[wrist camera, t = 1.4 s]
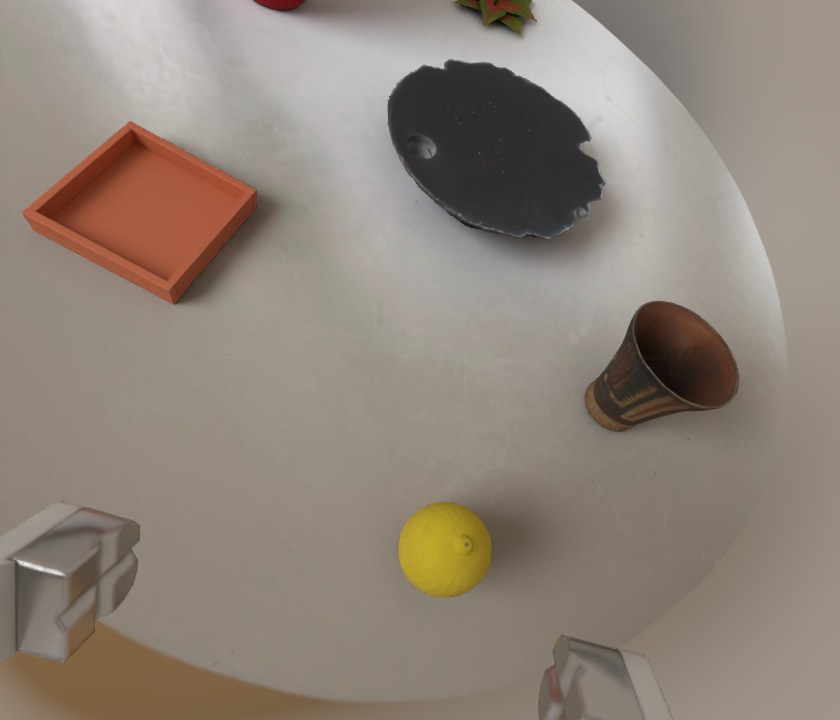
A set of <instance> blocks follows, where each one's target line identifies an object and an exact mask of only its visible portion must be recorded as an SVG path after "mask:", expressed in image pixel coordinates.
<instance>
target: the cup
mask: <svg viewBox="0 0 840 720" xmlns="http://www.w3.org/2000/svg"><path fill="white" fill-rule="evenodd" d="M738 385H739V373H738V368H737V365H736V362H735V360H734V358H733V355H732V353H731V351H730V349H729V347H728V346H727V344H726V343H725V341H724V340H723V339H722V337H721V336H720V335H719V334H718V333H717V332H716V330H714V328H713V327H712V326H710V324H708V323H707V322H706V321H705V320H704V319H703V318H701V317H700V316H699V315H697V314H696V313H694V312H693V311H691V310H689V309H687V308H685V307H683V306H680V305H677V304H674V303H671V302H664V301H653V302H649V303H646V304H644V305H642V306H641V307H640V308H639V309H638V310H637V311H636V313H635V314H634V316H633V318H632V320H631V322H630V325H629V327H628V330H627V333H626V336H625V338H624V340H623V343H622V344H621V346H620V348H619V350H618V351H617V353H616V354H615V356H614V357H613V359H612V360H611V362H610V363H609V364H608V366H607V367H606V369H605V370H604V371H603V373H602V374H601V375H600V376H599V378H598V379H596V380H595V381H594V382H593V383H591V384H590V385H589V387H588V388H587V391H586V394H585V401H586V407H587V409H588V411H589V413H590V414H591V416H592V417H593V419H594V420H595V421H596V422H597V423H599V424H600V425H602V426H603V427H605V428H607V429H609V430H612V431H625V430H627V429H629V428H631V427H633V426H635V425H637V424H639V423H642V422H645V421H648V420H651V419H654V418H658V417H661V416H665V415H669V414H674V413H678V412H685V411H705V410H712V409H717V408H721V407H723V406H725V405H726V404H728V403H729V402H730V401H731V400H732V399H733V398H734V396H735V395H736V393H737V390H738Z"/></svg>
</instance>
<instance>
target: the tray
mask: <svg viewBox="0 0 840 720" xmlns="http://www.w3.org/2000/svg"><path fill="white" fill-rule="evenodd" d="M256 207H257V194H256V190H255V189H253V188H251V187H249V186H248V185H246V184H244V183H242V182H240V181H238V180H237V179H235V178H233V177H231V176H229V175H227V174H226V173H224V172H222V171H220V170H218V169H217V168H215V167H213V166H211V165H209V164H207V163H206V162H204V161H202V160H200V159H198V158H197V157H195V156H193V155H191V154H189V153H187V152H186V151H184V150H182V149H180V148H178V147H176V146H175V145H173V144H171V143H169V142H167V141H166V140H164V139H162V138H160V137H158V136H156V135H155V134H153V133H151V132H149V131H147V130H146V129H144V128H142V127H140V126H138V125H136V124H135V123H133V122H131V121H129V122H128V123H127V124H126V126H124V127H122V128H121V129H120V130H119V131H118V132H116V133H115V134H114V135H113V136H112V137H111V138H109V139H108V140H107V141H106V142H105V143H103V144H102V145H101V146H100V147H99V148H98V149H96V150H95V151H94V152H93V153H92V154H90V155H89V156H88V157H87V158H86V159H84V160H83V161H82V162H81V163H80V164H79V165H77V166H76V167H75V168H74V169H73V170H71V171H70V172H69V173H68V174H67V175H66V176H64V177H63V178H62V179H61V180H60V181H58V182H57V183H56V184H55V185H54V186H52V187H51V188H50V189H49V190H48V191H47V192H45V193H44V194H43V195H42V196H41V197H39V198H38V199H37V200H36V201H35V202H34V203H32V204H31V205H30V206H29V208H26V209H25V210H24V211H23V212H22V214H23V215H24V217H25V218H26V220H27V221H28V223H29V224H30V226H31V227H32V229H33V230H34V231H36V232H38V233H40V234H42V235H43V236H45V237H47V238H49V239H51V240H53V241H55V242H57V243H59V244H61V245H62V246H64V247H66V248H68V249H70V250H72V251H74V252H76V253H78V254H79V255H81V256H83V257H85V258H87V259H89V260H91V261H93V262H95V263H97V264H98V265H100V266H102V267H104V268H106V269H108V270H110V271H112V272H114V273H115V274H117V275H119V276H121V277H123V278H125V279H127V280H129V281H131V282H133V283H134V284H136V285H138V286H140V287H142V288H144V289H146V290H148V291H150V292H151V293H153V294H155V295H157V296H159V297H161V298H163V299H165V300H167V301H169V302H170V303H172V304H175V302H176V301H177V300H178V299H179V298H180V297H181V295H182V294H183V293H184V292H185V291H186V289H187V288H188V287H189V286H190V285H191V284H192V282H193V281H194V280H195V279H196V278H197V277H198V275H199V274H200V273H201V272H202V271H203V269H204V268H205V267H206V266H207V265H208V264H209V262H210V261H211V260H212V259H213V258H214V256H215V255H216V254H217V253H218V252H219V251H220V249H221V248H222V247H223V246H224V245H225V244H226V242H227V241H228V240H229V239H230V238H231V236H232V235H233V234H234V233H235V232H236V231H237V229H238V228H239V227H240V226H241V225H242V224H243V222H244V221H245V220H246V219H247V218H248V216H249V215H250V214H251V213H252V212H253V211H254V209H255V208H256Z"/></svg>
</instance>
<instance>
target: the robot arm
mask: <svg viewBox="0 0 840 720" xmlns="http://www.w3.org/2000/svg"><path fill="white" fill-rule="evenodd" d="M139 541H140V525H139V524H138V523H136V522H135V521H133V520H129V519H126V518H122V517H119V516H115V515H112V514H109V513H105V512H102V511H98V510H95V509H92V508H88V507H87V508H86V507H83V506H79V505H76V504H73V503H69V502H66V501H59V502H54V503H52V504H51V505H49V506H47V507H46V508H44V509H43V510H41V511H40V512H38V513H37V514H35V515H33V516H32V517H30V518H29V519H27V520H26V521H24V522H23V523H21V524H19V525H18V526H16V527H15V528H13V529H12V530H10V531H9V532H7V533H5V534H4V535H2V536H1V537H0V662H1V661H3V660H5V659H7V658H8V657H10V656H12V655H14V654H15V653H16V651H19V652H23V653H27V654H31V655H35V656H39V657H43V658H48V659H52V660H56V661H60V662H64V663H65V662H66V661H67V660H68V659H69V658H70V657H71V656H72V655H73V654H74V653H75V652H76V650H77V649H78V648H79V647H80V646H81V645H82V644H83V643H84V642H85V641H86V640H87V639H88V638H89V637H90V636H91V635H92V634H93V633H94V631H95V620H96V619H98V618H100V617H103V616H105V615H108V614H110V613H112V612H113V611H114V610H115V609H116V608H117V607H118V606H119V605H120V604H121V603H122V602H123V600H124V599H125V597H126V596H127V594H128V592H129V590H130V589H131V587H132V585H133V583H134V580H135V577H136V573H137V567H138V559H137V557H136V556H135V554H134V552H133V550H132V549H131V548H132V547H133V546H134V545H135V544H136V543H137V542H139ZM553 655H554V661H555V664H554V665H553V666H551V667H550V668H548V669H546V670H545V673H544V676H543V679H542V683H541V687H540V694H539V702H538V703H539V705H538V706H539V720H673V717H672V715H671V712H670V710H669V707H668V705H667V703H666V700H665V698H664V695H663V693H662V691H661V688H660V686H659V683H658V681H657V679H656V676H655V674H654V671H653V669H652V667H651V664H650V662H649V660H648V659H647V658H646V657H645V655H643V654H639V653H635V652H630V651H626V650H622V649H618V648H615V649H614V648H612V647H608V646H604V645H600V644H596V643H592V642H589V641H585V640H581V639H577V638H573V637H569V636H565V635H561V636H560V637H559V638H558V639H557V641H556V644H555V646H554V649H553Z"/></svg>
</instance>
